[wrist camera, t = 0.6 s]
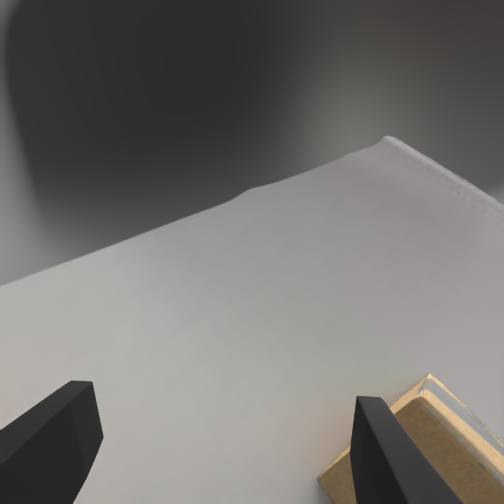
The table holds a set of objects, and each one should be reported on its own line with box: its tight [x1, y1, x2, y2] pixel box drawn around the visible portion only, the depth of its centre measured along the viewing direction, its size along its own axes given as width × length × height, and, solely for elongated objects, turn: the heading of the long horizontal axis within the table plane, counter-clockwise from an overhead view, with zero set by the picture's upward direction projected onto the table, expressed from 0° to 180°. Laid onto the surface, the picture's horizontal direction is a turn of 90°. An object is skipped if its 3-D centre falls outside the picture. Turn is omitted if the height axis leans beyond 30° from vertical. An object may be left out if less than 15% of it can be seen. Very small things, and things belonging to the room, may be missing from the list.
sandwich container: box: [317, 374, 504, 504], centre depth 22 cm, size 9×15×15 cm, turn 126°
